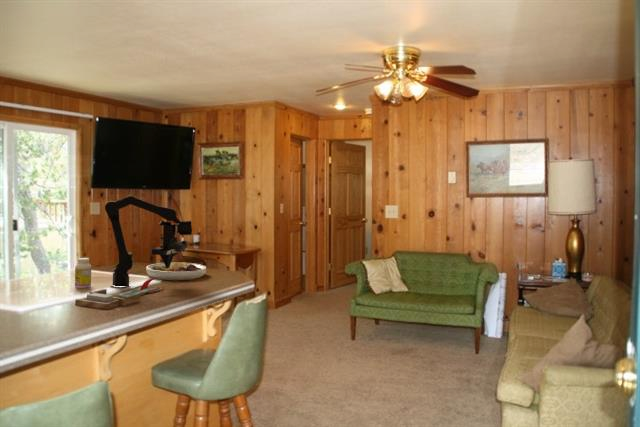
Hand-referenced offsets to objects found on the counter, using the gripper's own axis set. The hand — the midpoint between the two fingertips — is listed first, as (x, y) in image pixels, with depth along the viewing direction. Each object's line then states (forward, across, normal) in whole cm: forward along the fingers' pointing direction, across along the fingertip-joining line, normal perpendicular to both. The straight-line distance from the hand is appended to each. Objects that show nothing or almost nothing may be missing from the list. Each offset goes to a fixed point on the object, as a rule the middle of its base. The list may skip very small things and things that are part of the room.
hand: (167, 268), depth 243 cm
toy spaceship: (+9, -22, 0) cm, 23 cm away
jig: (+8, -40, 0) cm, 41 cm away
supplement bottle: (+9, -22, +29) cm, 37 cm away
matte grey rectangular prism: (+9, -44, 0) cm, 45 cm away
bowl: (+9, +24, +11) cm, 28 cm away
